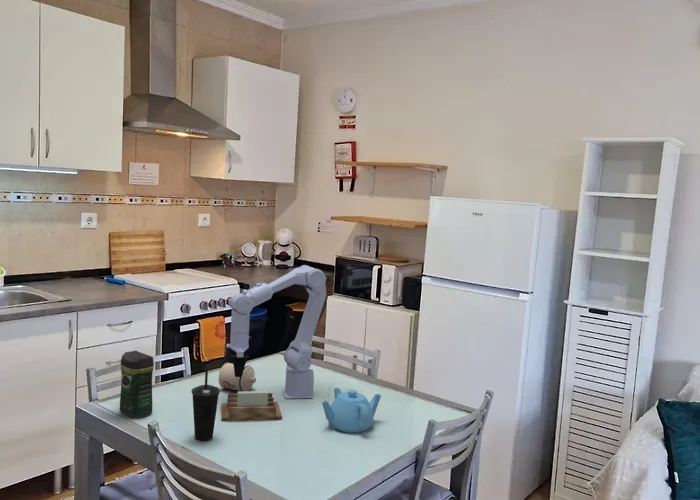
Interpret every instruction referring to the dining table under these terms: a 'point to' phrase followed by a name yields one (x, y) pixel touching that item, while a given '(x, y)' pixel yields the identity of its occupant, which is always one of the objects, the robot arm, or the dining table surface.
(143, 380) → the coffee jar
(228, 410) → the walnut rack
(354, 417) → the teapot
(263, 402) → the upright gray panel
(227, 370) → the beige mug
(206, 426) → the drinking cup
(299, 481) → the dining table surface
